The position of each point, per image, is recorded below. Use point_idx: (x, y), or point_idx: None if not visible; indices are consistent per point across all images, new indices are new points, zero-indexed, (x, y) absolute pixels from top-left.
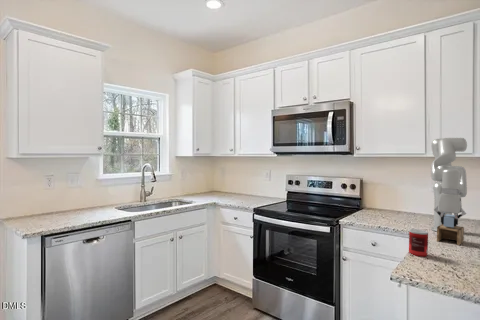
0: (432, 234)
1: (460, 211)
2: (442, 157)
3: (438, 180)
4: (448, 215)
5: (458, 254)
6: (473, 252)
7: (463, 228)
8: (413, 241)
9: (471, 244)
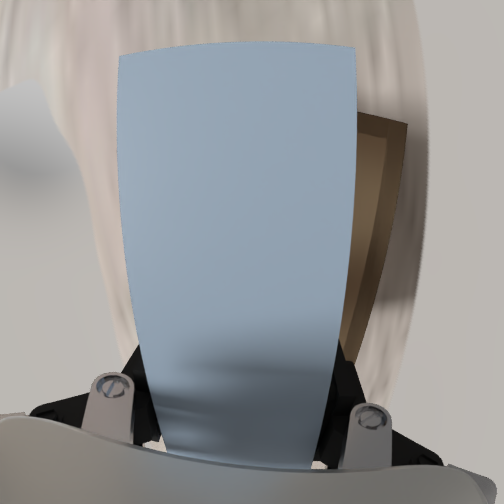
0: (118, 51)
1: (469, 476)
2: None
3: None
4: (187, 269)
5: (312, 466)
6: (382, 404)
7: (399, 152)
8: None
9: (405, 202)
